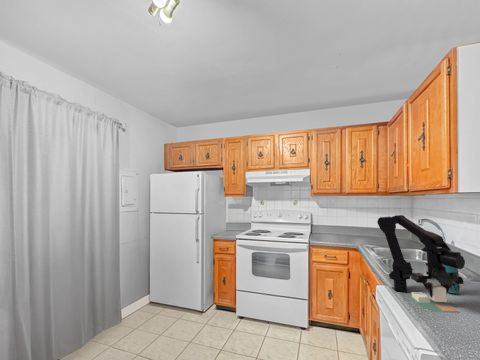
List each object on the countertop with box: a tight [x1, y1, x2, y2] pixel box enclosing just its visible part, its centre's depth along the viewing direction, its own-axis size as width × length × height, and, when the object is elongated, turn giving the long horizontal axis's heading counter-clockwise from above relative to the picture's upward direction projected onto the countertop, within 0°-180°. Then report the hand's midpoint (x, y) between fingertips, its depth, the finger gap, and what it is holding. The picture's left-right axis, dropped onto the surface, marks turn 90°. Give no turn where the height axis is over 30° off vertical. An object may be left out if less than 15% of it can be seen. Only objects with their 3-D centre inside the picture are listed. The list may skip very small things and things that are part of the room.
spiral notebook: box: [411, 291, 431, 303], centre depth 115 cm, size 6×5×2 cm
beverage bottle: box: [443, 264, 461, 294], centre depth 122 cm, size 6×7×20 cm
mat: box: [407, 295, 461, 314], centre depth 111 cm, size 16×13×1 cm
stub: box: [428, 284, 448, 303], centre depth 110 cm, size 4×5×6 cm
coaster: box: [435, 304, 461, 313], centre depth 106 cm, size 6×6×1 cm
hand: (437, 297), depth 110 cm, fingers closed on stub, 5 cm apart
